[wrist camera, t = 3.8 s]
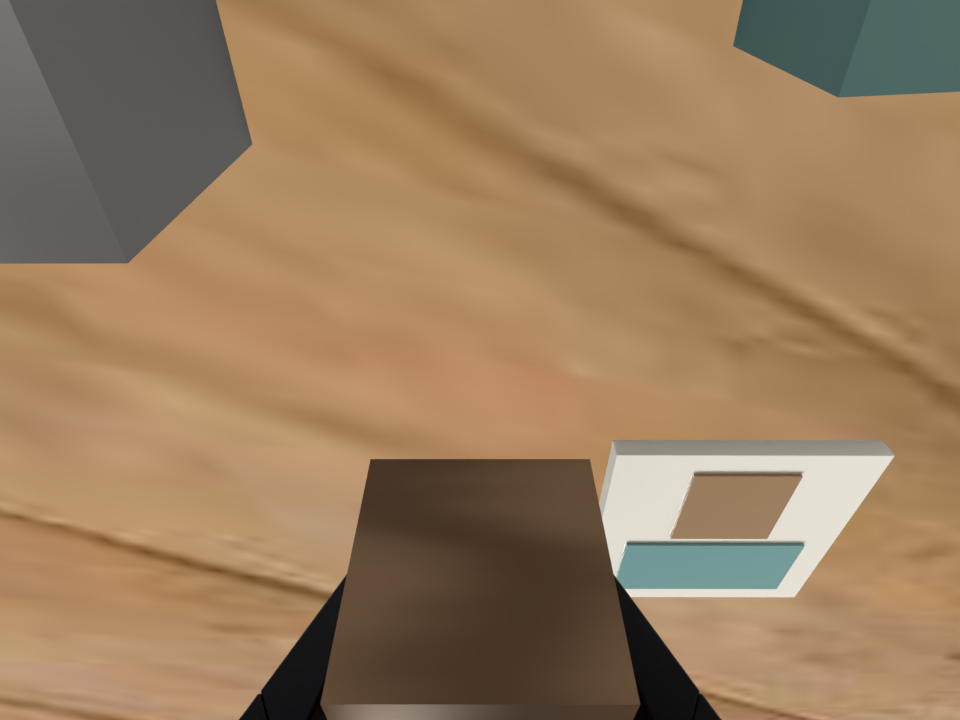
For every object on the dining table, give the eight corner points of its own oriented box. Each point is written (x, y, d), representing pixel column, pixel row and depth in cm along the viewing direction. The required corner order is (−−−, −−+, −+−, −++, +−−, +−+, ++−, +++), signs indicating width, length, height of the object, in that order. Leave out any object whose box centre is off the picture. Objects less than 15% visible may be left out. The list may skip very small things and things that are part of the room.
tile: (581, 581, 21) (584, 599, 21) (612, 439, 16) (617, 458, 16) (787, 582, 21) (795, 600, 21) (882, 440, 16) (896, 458, 16)
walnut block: (392, 575, 16) (363, 794, 12) (370, 459, 12) (320, 704, 8) (567, 575, 16) (597, 794, 12) (589, 459, 12) (640, 704, 9)
